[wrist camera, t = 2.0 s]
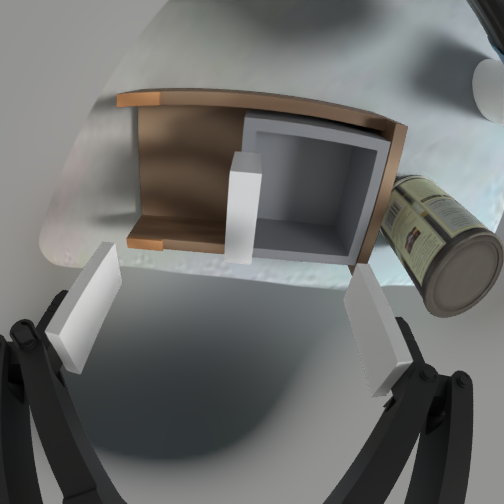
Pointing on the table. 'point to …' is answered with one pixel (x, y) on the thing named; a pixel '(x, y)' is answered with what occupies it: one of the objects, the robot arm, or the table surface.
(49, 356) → the robot arm
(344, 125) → the box
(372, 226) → the bay
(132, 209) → the table surface
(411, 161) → the table surface
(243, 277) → the table surface
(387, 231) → the coffee can
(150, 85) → the table surface
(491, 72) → the base with upright slab
